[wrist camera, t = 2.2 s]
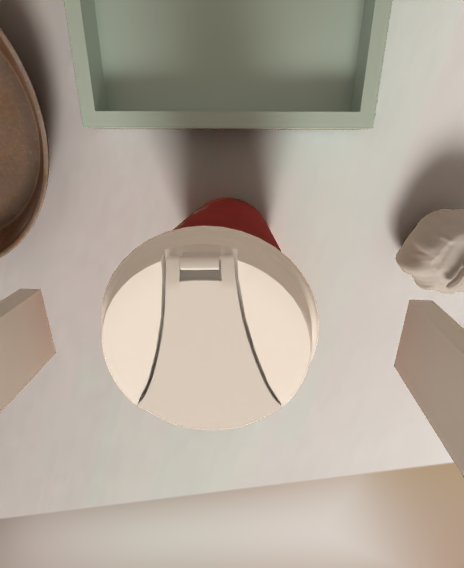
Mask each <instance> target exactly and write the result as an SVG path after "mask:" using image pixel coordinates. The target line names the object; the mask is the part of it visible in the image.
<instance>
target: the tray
mask: <svg viewBox="0 0 464 568" xmlns="http://www.w3.org/2000/svg"><path fill="white" fill-rule="evenodd" d="M64 4H65V11H66V17H67V24H68V31H69V37H70V44H71V51H72V57H73V64H74V70H75V77H76V84H77V90H78V97H79V103H80V110H81V117H82V123H83V127H88V128H100V129H314V130H361V129H371V128H373V124H374V118H375V111H376V104H377V98H378V91H379V85H380V78H381V72H382V65H383V59H384V52H385V45H386V39H387V32H388V26H389V19H390V13H391V6H392V0H64Z"/></svg>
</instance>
